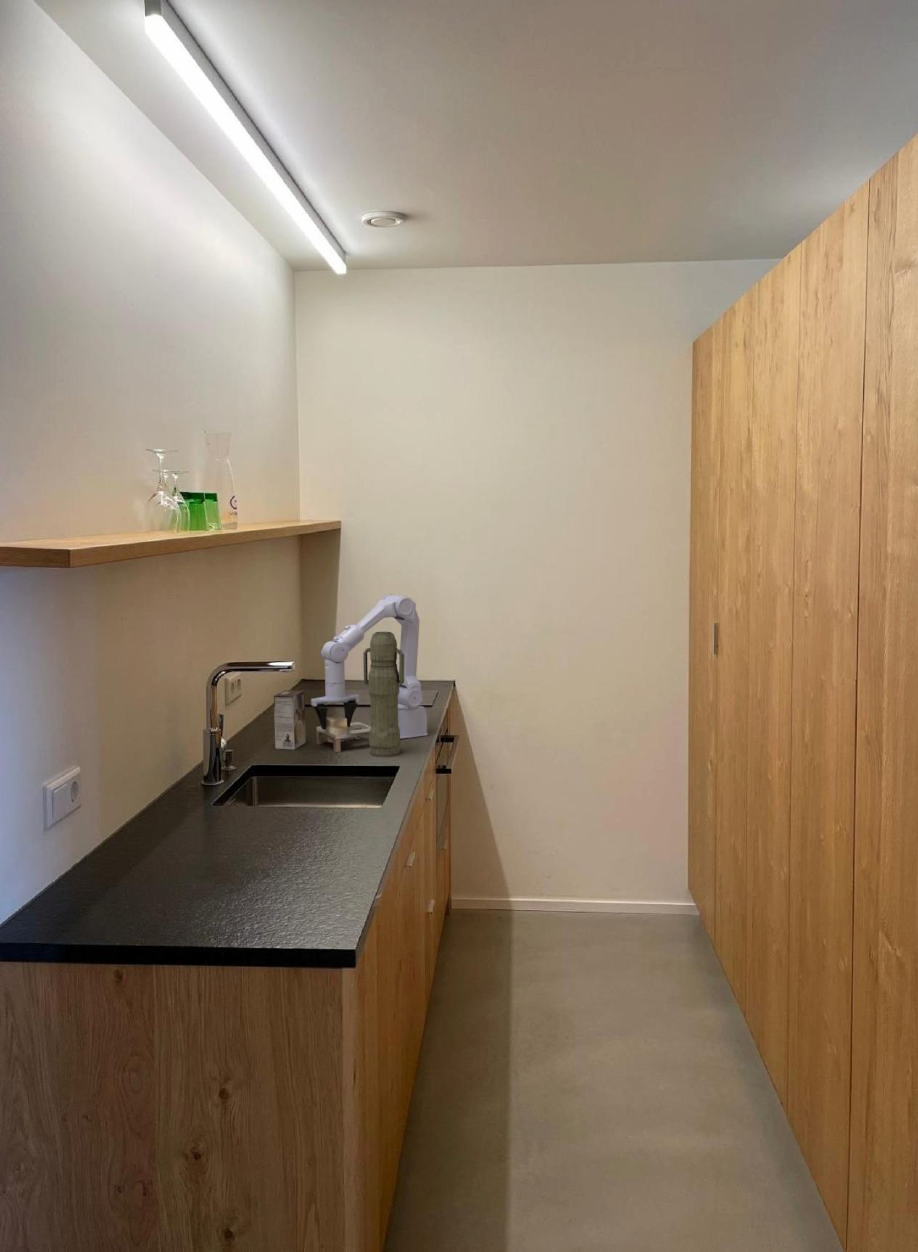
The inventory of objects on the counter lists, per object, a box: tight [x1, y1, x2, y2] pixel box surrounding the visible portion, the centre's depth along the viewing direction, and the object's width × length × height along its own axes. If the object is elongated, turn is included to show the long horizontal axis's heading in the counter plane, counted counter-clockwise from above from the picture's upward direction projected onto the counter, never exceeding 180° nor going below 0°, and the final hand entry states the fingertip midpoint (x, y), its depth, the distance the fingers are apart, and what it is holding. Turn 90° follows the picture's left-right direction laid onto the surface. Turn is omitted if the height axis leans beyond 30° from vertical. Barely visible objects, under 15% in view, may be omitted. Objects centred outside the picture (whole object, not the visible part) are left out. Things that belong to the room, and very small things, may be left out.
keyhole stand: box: [316, 721, 371, 753], centre depth 287 cm, size 14×14×5 cm
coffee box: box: [273, 689, 307, 750], centre depth 286 cm, size 9×6×16 cm
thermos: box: [363, 631, 404, 758], centre depth 275 cm, size 9×12×35 cm
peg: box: [326, 715, 348, 743], centre depth 285 cm, size 5×5×7 cm
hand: (335, 727), depth 285 cm, fingers open, 7 cm apart
